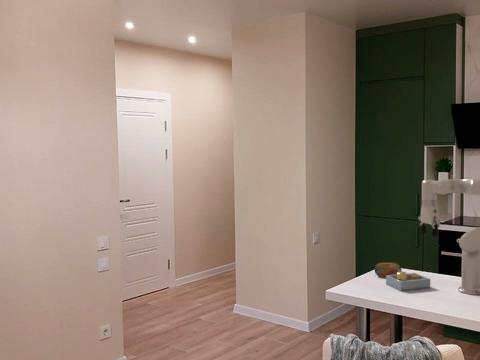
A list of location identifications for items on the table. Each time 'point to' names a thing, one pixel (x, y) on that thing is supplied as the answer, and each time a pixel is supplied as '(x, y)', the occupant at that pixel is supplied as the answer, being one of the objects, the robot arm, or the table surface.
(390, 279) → the tote
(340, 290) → the table surface
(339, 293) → the table surface
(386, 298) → the table surface
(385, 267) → the tin
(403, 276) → the brass cylinder
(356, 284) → the table surface
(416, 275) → the walnut cube
